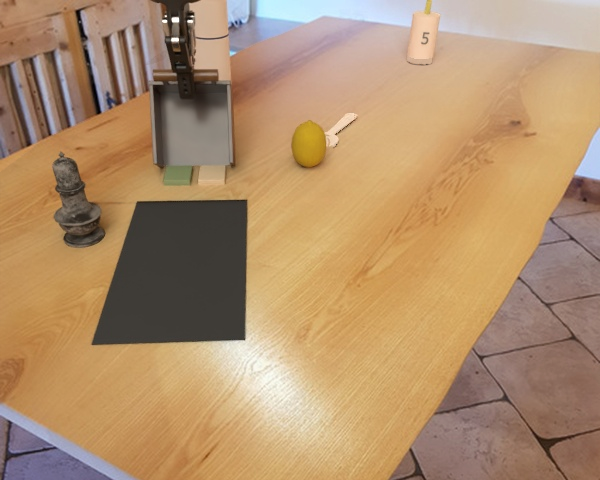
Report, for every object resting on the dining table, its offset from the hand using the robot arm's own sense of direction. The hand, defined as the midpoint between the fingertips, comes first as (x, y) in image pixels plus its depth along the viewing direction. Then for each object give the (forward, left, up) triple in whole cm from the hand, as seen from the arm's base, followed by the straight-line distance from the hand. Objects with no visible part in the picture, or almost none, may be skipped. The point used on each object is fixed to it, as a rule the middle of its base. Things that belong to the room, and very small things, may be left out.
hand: (188, 95), depth 79 cm
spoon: (+19, +21, -13) cm, 31 cm away
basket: (-1, +5, -7) cm, 9 cm away
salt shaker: (-9, -20, -13) cm, 25 cm away
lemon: (+17, +6, -13) cm, 22 cm away
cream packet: (+3, -2, -11) cm, 12 cm away
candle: (+33, +68, -13) cm, 77 cm away
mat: (+5, -17, -12) cm, 22 cm away
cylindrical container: (-7, +31, -13) cm, 34 cm away
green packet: (-2, -3, -11) cm, 12 cm away
